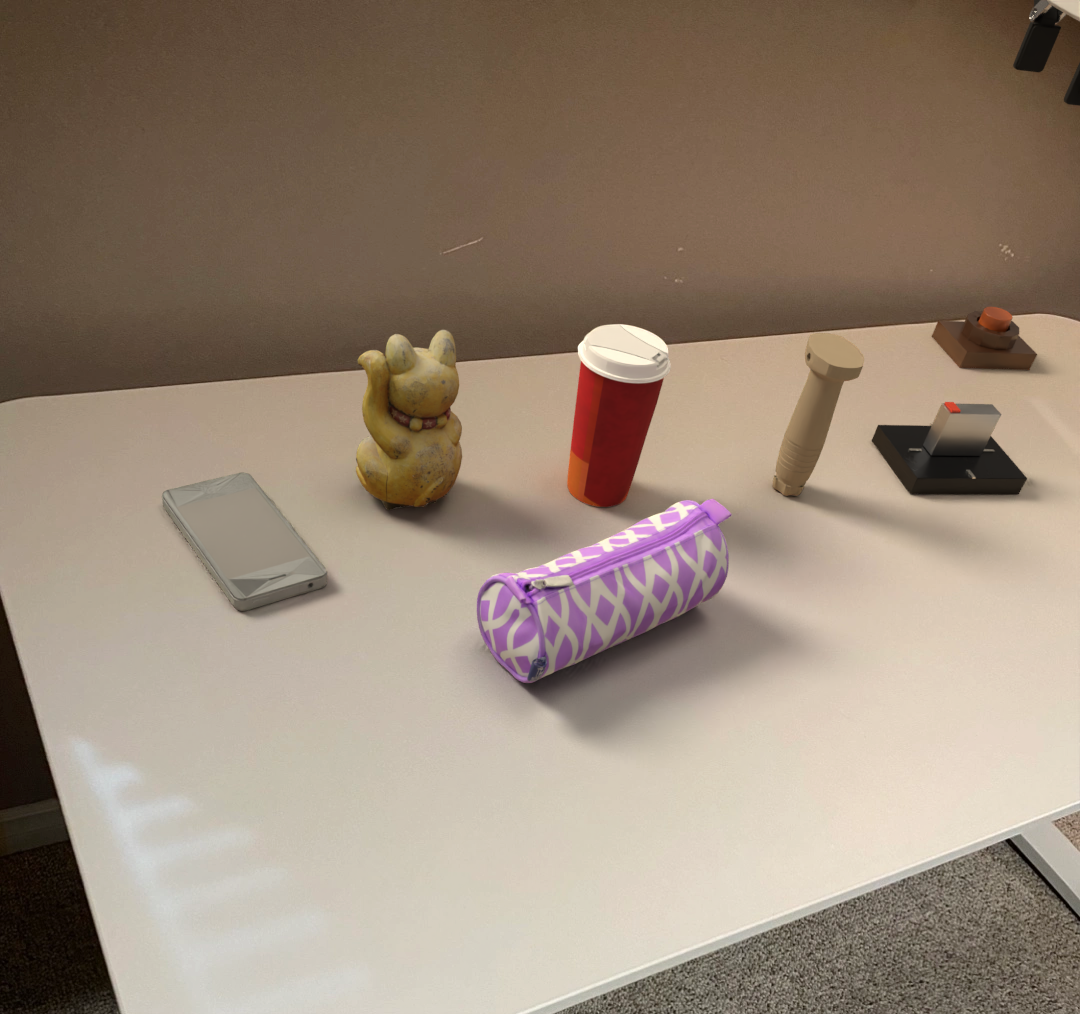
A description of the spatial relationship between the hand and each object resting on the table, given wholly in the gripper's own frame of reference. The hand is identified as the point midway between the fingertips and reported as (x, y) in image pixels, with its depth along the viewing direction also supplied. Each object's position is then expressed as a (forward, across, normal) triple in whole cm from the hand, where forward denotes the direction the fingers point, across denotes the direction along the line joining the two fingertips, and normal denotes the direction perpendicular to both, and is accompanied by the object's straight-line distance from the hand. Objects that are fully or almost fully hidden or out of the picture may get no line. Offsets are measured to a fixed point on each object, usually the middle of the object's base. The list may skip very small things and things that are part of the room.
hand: (1051, 86), depth 105 cm
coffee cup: (+33, -20, +44) cm, 59 cm away
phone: (+33, -28, +78) cm, 89 cm away
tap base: (+33, -16, +4) cm, 36 cm away
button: (+29, +10, -13) cm, 33 cm away
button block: (+32, +10, -13) cm, 36 cm away
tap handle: (+31, -16, +5) cm, 35 cm away
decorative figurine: (+33, -21, +62) cm, 74 cm away
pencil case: (+33, -40, +49) cm, 72 cm away
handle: (+33, -20, +24) cm, 46 cm away
